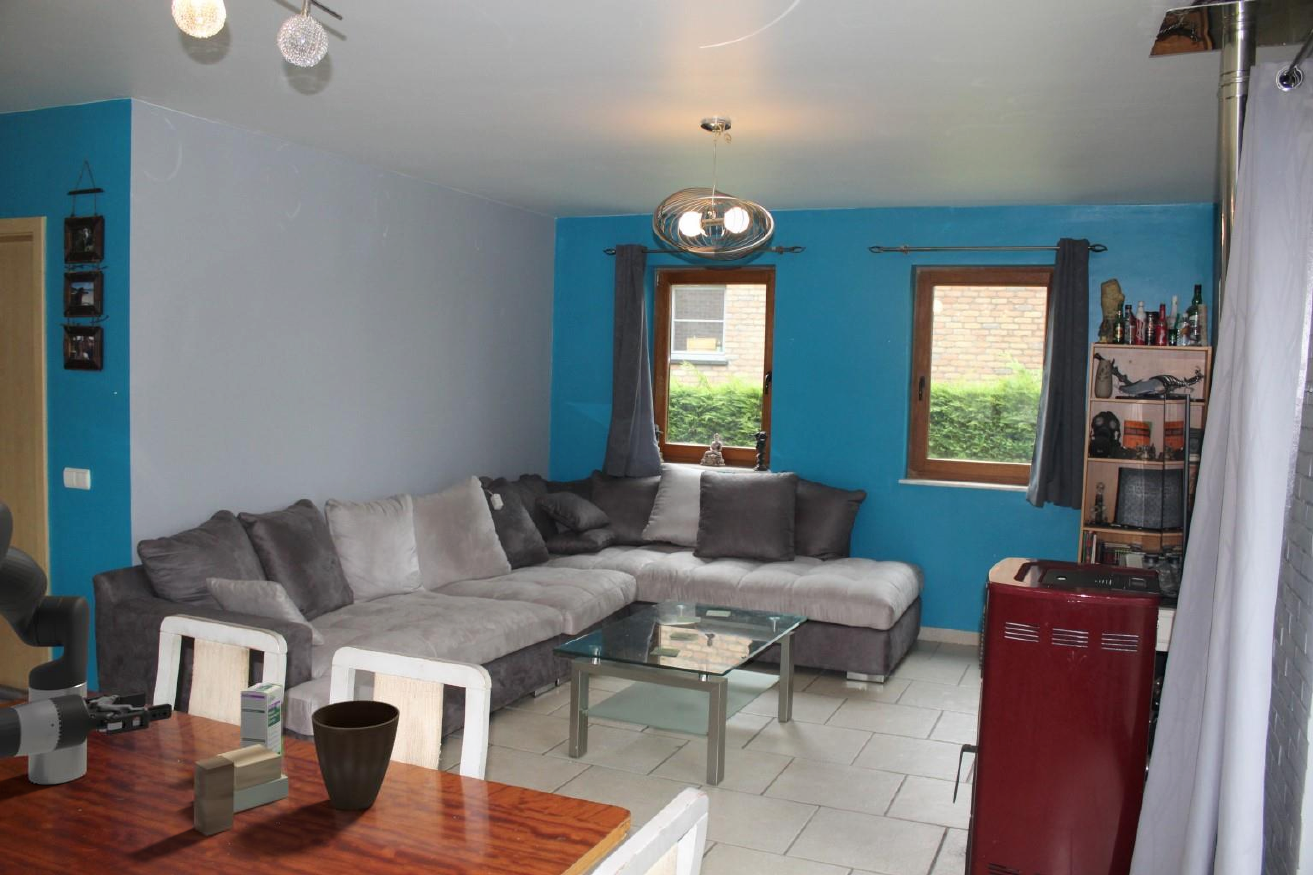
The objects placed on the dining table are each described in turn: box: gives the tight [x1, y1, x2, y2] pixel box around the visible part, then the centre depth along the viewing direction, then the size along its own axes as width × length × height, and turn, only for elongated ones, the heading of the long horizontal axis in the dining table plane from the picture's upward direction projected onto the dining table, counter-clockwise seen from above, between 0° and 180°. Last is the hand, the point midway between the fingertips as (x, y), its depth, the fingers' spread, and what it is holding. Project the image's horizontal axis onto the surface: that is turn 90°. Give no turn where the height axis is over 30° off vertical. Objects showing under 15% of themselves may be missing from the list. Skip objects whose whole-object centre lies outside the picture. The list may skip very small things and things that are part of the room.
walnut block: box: [193, 755, 235, 837], centre depth 170 cm, size 4×4×11 cm
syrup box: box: [240, 682, 284, 759], centre depth 200 cm, size 6×6×14 cm
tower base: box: [234, 772, 289, 814], centre depth 183 cm, size 10×10×4 cm
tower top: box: [215, 744, 282, 790], centre depth 183 cm, size 8×8×4 cm
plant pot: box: [311, 699, 401, 811], centre depth 182 cm, size 15×15×16 cm
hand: (157, 704), depth 162 cm, fingers open, 8 cm apart
